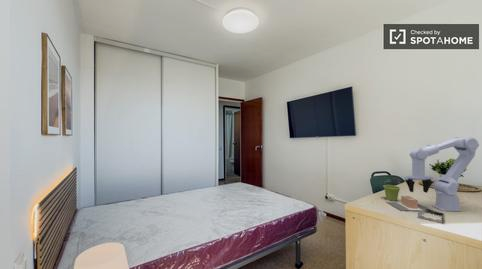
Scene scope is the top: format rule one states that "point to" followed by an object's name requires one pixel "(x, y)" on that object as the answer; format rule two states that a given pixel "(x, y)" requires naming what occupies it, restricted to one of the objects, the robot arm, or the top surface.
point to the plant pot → (391, 192)
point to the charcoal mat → (405, 208)
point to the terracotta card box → (409, 202)
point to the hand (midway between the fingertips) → (418, 192)
